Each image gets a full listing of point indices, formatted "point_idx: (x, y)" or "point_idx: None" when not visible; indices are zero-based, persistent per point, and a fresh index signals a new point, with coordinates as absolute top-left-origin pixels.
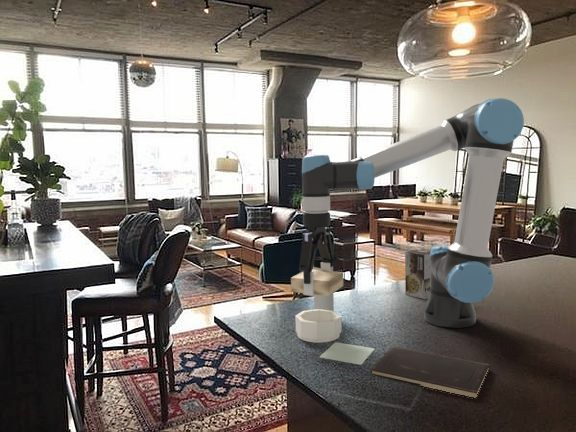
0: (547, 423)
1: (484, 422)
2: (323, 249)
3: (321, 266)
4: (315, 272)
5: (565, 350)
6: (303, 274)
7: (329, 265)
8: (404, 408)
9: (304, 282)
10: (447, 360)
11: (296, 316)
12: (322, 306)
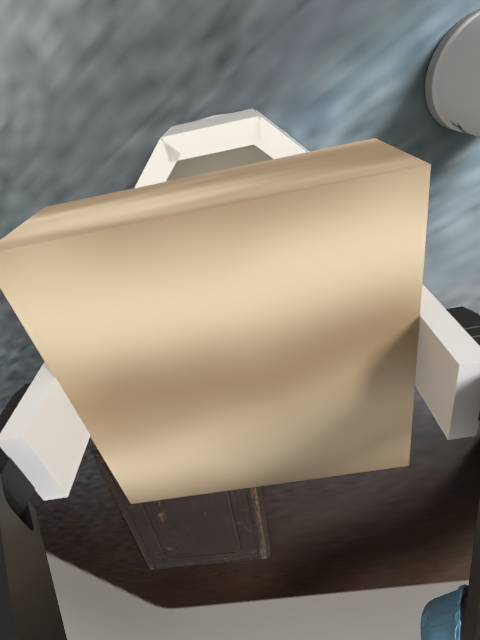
0: (153, 599)
1: (100, 571)
2: (467, 622)
3: (438, 344)
4: (306, 327)
5: (416, 581)
6: (12, 416)
7: (441, 421)
8: (44, 514)
9: (19, 394)
10: (240, 523)
11: (157, 150)
12: (462, 106)
